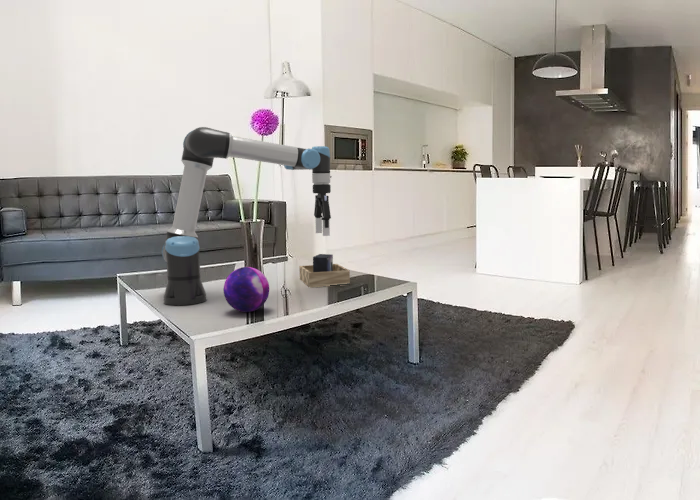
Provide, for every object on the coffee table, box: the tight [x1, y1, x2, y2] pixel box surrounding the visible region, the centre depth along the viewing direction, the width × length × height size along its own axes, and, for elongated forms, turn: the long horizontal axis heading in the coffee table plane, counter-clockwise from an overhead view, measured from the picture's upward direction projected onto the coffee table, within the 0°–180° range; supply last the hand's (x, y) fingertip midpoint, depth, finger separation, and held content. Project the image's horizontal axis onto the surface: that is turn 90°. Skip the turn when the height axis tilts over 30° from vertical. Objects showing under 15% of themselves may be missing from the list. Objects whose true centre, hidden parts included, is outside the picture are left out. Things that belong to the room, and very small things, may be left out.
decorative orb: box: [223, 266, 270, 313], centre depth 191 cm, size 15×15×15 cm
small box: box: [312, 253, 334, 272], centre depth 244 cm, size 11×6×10 cm, turn 167°
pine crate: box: [298, 263, 351, 289], centre depth 244 cm, size 21×17×6 cm
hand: (322, 234), depth 242 cm, fingers open, 13 cm apart
